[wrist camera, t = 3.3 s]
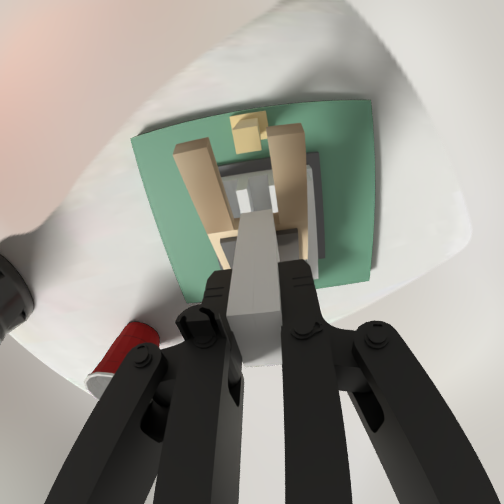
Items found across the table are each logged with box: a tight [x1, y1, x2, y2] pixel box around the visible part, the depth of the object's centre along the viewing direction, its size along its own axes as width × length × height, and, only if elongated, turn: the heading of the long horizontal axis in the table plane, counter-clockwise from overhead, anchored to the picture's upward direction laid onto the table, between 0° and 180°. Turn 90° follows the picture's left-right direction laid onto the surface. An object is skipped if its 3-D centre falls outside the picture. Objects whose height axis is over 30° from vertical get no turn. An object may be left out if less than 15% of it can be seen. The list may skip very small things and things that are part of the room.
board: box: [131, 100, 375, 303], centre depth 23 cm, size 22×20×9 cm
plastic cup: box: [84, 322, 160, 400], centre depth 33 cm, size 11×11×12 cm
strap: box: [173, 123, 308, 270], centre depth 18 cm, size 5×20×1 cm, turn 10°
